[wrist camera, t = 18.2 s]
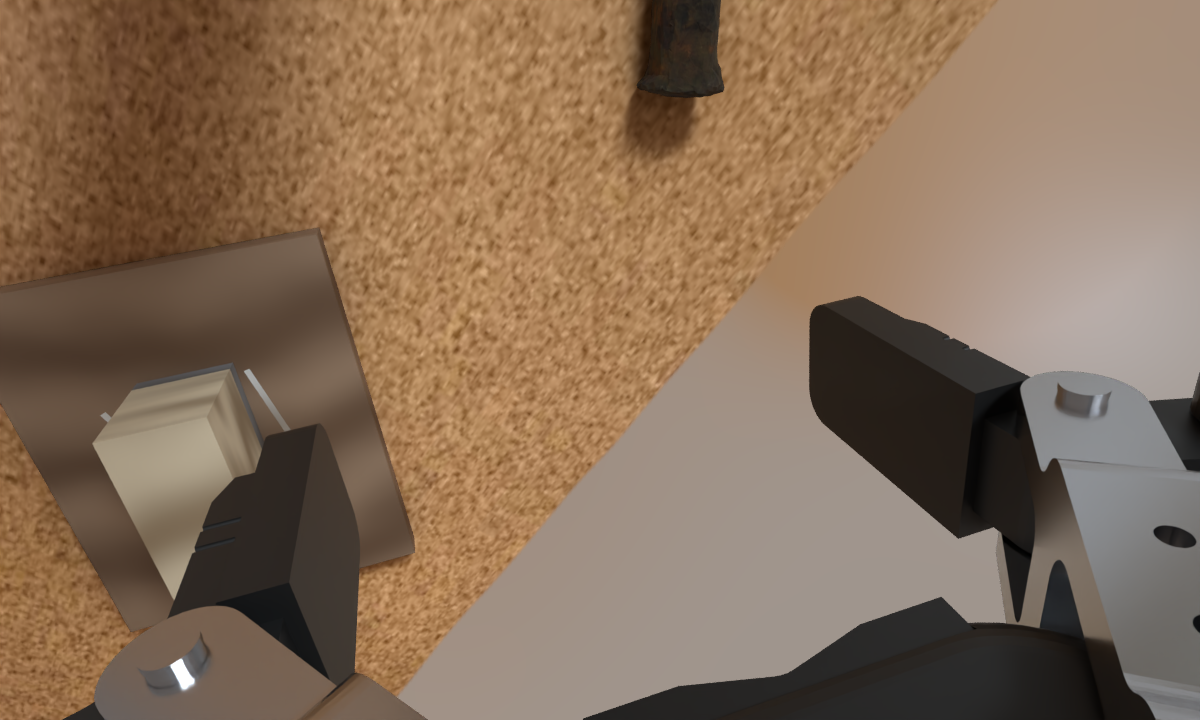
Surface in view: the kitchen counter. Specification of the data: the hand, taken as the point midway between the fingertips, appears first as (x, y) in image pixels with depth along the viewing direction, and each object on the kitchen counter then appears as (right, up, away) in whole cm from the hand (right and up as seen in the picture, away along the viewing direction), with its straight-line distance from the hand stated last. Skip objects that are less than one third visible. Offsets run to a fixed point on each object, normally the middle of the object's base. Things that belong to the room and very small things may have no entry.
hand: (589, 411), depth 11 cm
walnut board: (-20, -3, +27) cm, 34 cm away
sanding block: (-20, -4, +26) cm, 33 cm away
